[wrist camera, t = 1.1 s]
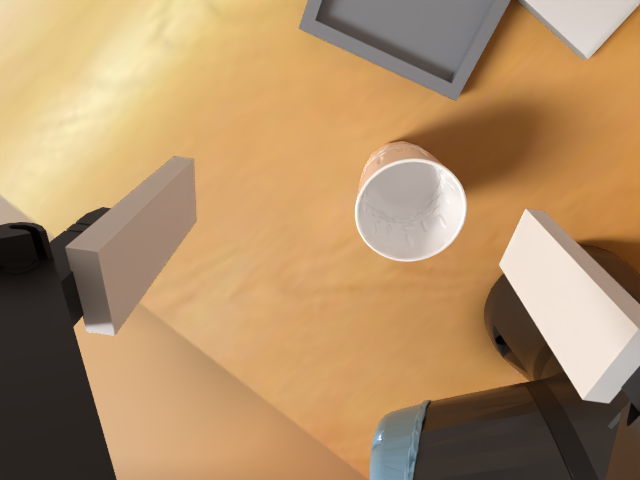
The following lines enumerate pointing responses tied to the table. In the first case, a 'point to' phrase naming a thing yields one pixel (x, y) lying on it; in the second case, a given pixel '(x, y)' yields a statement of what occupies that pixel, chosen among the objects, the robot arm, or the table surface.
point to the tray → (410, 35)
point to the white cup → (408, 203)
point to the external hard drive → (581, 20)
